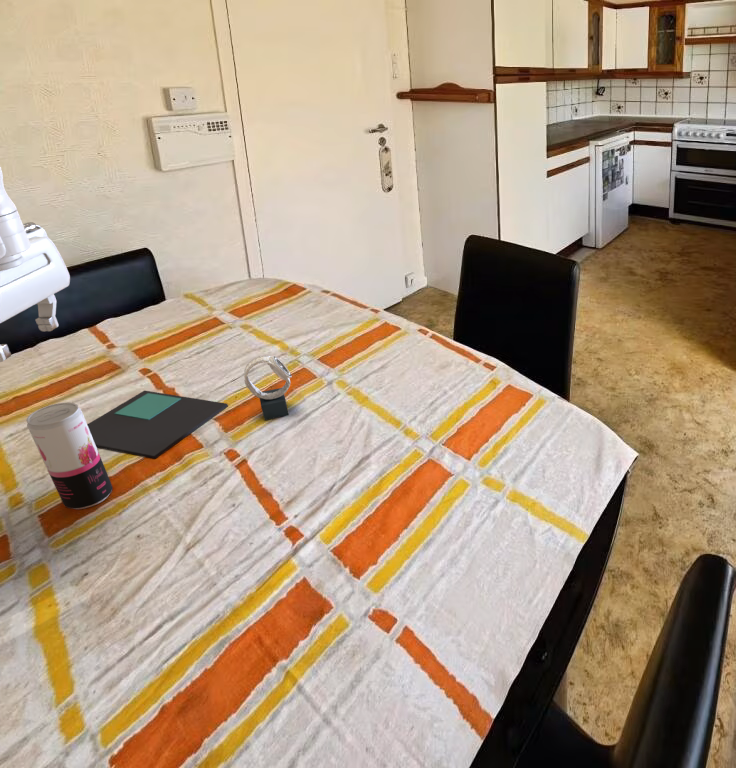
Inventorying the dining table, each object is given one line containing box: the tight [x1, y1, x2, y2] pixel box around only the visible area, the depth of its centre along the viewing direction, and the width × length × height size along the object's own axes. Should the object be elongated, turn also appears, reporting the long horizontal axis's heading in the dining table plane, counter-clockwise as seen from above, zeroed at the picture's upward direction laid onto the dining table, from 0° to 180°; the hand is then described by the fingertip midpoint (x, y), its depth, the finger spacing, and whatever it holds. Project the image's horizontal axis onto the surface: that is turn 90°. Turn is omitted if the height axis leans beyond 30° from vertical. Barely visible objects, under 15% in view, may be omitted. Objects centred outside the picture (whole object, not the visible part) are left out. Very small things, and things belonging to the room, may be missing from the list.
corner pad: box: [115, 393, 181, 420], centre depth 118 cm, size 8×8×1 cm
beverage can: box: [26, 401, 113, 510], centre depth 92 cm, size 6×6×15 cm
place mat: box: [87, 390, 229, 460], centre depth 114 cm, size 20×18×1 cm
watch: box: [243, 355, 292, 421], centre depth 115 cm, size 6×8×11 cm
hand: (26, 343), depth 82 cm, fingers open, 8 cm apart
